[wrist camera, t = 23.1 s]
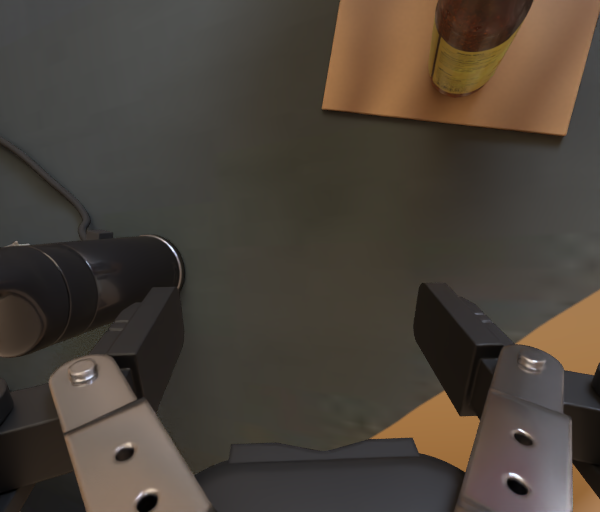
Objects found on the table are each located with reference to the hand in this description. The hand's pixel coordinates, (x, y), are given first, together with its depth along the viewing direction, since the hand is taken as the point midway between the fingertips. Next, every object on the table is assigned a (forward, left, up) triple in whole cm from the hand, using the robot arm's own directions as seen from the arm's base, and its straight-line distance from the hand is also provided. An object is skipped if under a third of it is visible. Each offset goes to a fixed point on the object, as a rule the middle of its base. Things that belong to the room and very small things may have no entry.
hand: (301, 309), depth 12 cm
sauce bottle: (+5, +19, -30) cm, 36 cm away
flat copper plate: (+4, +20, -30) cm, 36 cm away
